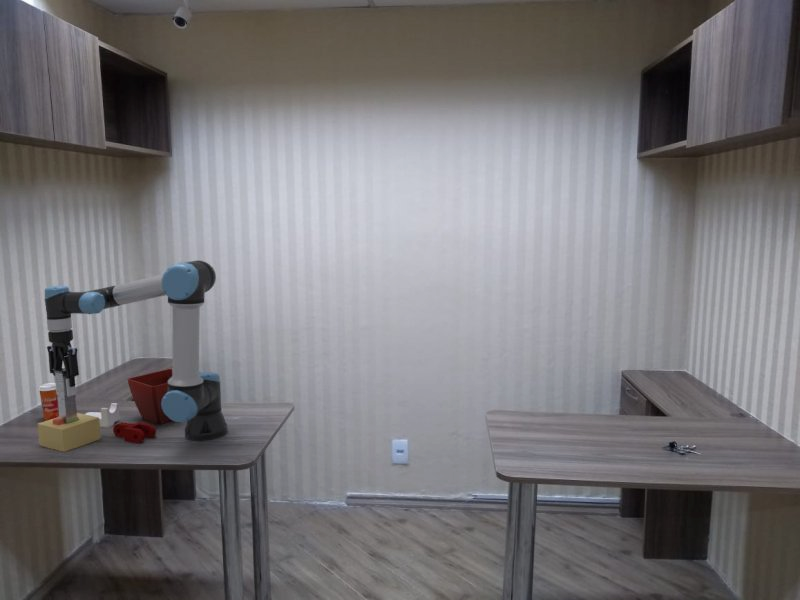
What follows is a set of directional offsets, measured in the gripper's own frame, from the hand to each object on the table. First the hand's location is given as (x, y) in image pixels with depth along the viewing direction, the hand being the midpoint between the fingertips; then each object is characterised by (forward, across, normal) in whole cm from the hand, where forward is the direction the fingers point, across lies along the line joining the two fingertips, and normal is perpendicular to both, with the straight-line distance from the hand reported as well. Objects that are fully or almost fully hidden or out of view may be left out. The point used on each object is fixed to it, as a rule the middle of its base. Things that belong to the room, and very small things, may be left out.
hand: (66, 394), depth 214 cm
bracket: (+18, +9, -18) cm, 27 cm away
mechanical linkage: (+18, -17, -13) cm, 28 cm away
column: (+12, 0, 0) cm, 12 cm away
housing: (+18, 0, 0) cm, 18 cm away
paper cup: (+18, +31, -13) cm, 38 cm away
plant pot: (+18, -9, -34) cm, 40 cm away
